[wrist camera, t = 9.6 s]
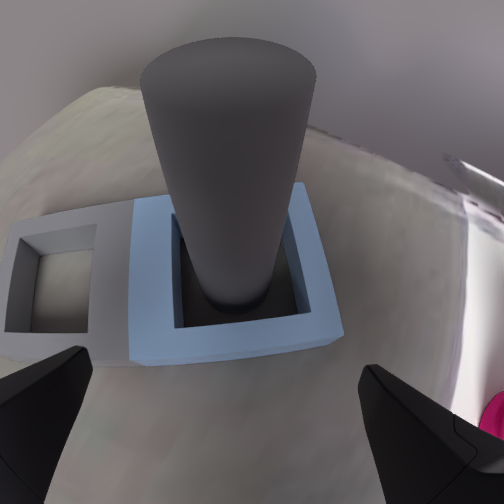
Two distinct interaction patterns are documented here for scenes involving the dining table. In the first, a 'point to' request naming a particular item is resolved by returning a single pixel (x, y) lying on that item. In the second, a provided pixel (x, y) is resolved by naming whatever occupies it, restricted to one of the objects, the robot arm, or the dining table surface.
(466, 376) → the dining table surface
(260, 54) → the plug
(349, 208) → the dining table surface
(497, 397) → the pepper mill
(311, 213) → the two-hole peg board
